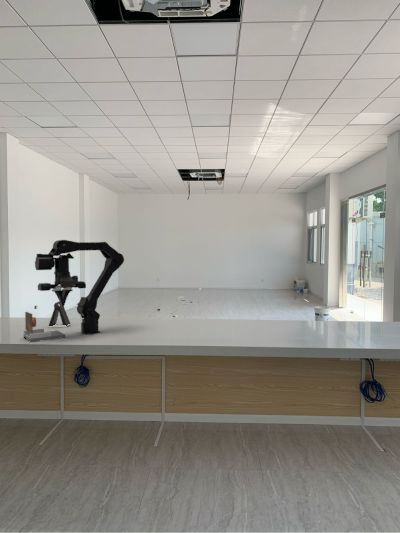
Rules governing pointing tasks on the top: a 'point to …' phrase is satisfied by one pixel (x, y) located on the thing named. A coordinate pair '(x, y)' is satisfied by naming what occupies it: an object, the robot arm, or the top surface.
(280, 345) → the top surface
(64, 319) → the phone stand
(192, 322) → the top surface
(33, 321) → the press plate
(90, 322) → the robot arm
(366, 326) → the top surface
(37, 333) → the press base
